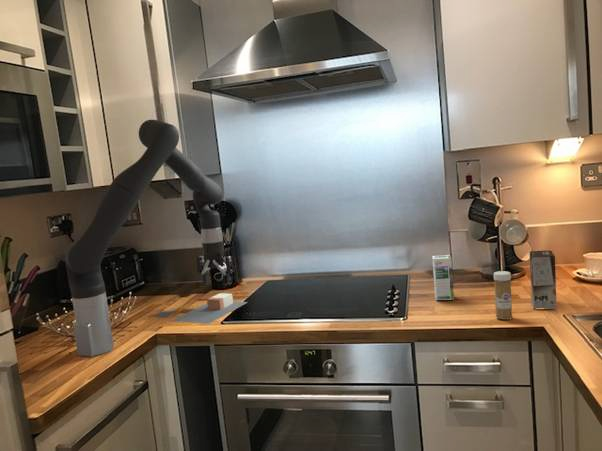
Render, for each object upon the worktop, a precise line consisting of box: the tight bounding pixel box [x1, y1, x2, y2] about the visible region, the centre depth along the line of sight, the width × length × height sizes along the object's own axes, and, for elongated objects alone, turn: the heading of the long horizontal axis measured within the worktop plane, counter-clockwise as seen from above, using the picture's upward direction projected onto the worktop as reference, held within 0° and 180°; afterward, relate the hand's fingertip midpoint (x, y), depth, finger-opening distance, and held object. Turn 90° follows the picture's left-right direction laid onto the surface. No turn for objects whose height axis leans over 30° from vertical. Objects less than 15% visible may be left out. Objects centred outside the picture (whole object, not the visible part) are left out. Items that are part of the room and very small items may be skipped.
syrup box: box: [431, 254, 455, 301], centre depth 169 cm, size 6×6×14 cm
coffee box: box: [529, 250, 557, 310], centre depth 152 cm, size 9×6×16 cm
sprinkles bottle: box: [493, 270, 513, 320], centre depth 145 cm, size 5×5×14 cm
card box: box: [206, 292, 234, 310], centre depth 185 cm, size 8×6×4 cm
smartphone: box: [152, 310, 178, 319], centre depth 178 cm, size 7×1×15 cm
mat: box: [171, 301, 248, 325], centre depth 180 cm, size 24×16×1 cm, turn 154°
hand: (216, 284), depth 184 cm, fingers open, 8 cm apart
